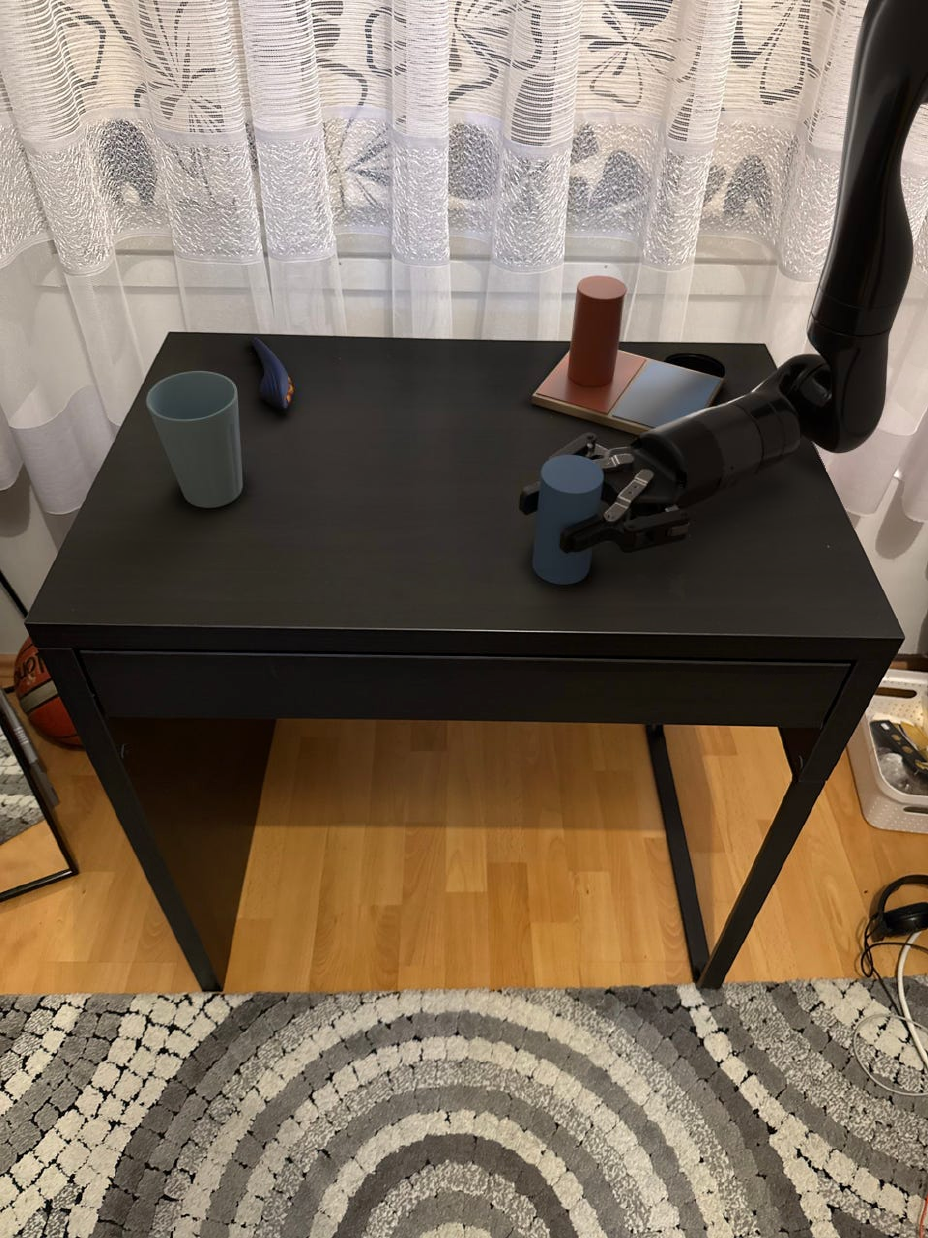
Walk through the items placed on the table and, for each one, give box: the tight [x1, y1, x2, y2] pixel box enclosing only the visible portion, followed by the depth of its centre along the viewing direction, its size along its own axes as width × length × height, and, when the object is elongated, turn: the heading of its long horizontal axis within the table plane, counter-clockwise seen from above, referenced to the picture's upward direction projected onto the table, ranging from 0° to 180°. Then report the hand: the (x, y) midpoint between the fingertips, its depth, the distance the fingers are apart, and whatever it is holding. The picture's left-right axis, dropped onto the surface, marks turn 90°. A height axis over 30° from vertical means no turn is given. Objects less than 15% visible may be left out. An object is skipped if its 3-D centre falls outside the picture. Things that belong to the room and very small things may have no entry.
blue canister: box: [531, 455, 604, 586], centre depth 78 cm, size 5×5×10 cm
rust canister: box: [567, 275, 628, 387], centre depth 97 cm, size 5×5×10 cm
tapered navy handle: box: [250, 336, 294, 411], centre depth 100 cm, size 16×4×2 cm, turn 20°
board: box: [531, 349, 725, 437], centre depth 100 cm, size 17×13×1 cm
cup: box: [145, 370, 244, 509], centre depth 84 cm, size 8×8×10 cm
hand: (542, 523), depth 76 cm, fingers closed on blue canister, 5 cm apart
